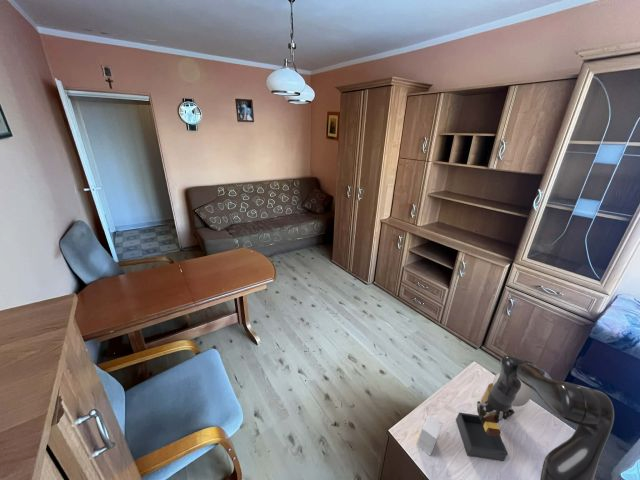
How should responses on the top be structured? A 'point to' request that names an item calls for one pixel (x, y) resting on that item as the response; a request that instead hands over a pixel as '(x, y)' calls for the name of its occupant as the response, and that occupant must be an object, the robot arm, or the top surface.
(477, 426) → the dark gray rectangular tray
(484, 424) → the chocolate bar
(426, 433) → the small box
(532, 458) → the top surface
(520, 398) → the lamp
